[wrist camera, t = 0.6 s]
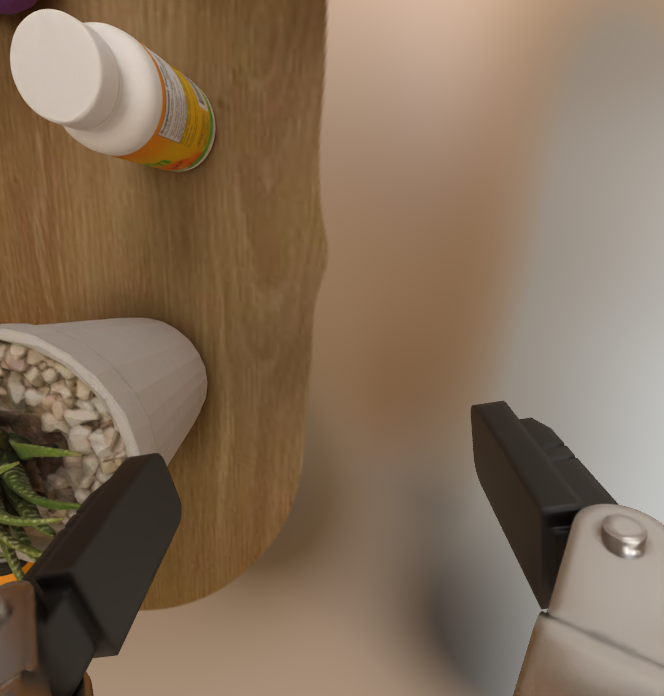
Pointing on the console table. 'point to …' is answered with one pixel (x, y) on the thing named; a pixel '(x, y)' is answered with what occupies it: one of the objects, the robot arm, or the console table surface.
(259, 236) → the console table surface
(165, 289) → the console table surface
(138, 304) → the console table surface
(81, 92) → the supplement bottle
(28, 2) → the kendama
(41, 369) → the potted plant
